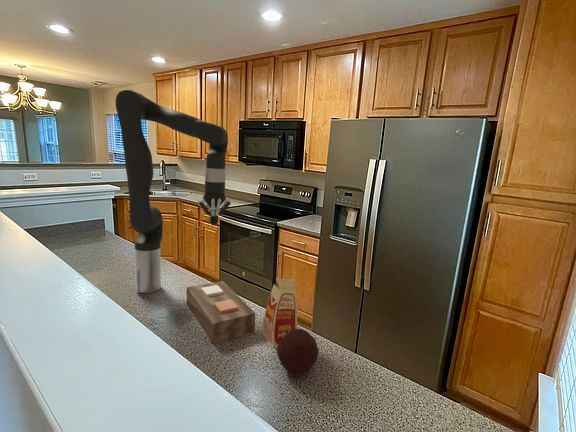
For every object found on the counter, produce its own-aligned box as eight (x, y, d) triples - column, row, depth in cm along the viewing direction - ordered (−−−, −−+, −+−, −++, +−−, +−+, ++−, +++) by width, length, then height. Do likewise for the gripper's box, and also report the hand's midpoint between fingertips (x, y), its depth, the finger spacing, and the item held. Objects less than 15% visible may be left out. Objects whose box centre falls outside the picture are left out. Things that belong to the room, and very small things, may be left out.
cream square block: (206, 305, 109) (206, 294, 108) (201, 297, 114) (201, 287, 113) (222, 301, 112) (223, 291, 112) (217, 294, 117) (217, 284, 116)
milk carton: (273, 348, 93) (277, 285, 89) (261, 332, 101) (264, 273, 97) (299, 341, 97) (304, 281, 94) (286, 326, 105) (290, 270, 102)
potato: (314, 354, 91) (317, 321, 89) (319, 387, 78) (323, 350, 76) (276, 352, 91) (278, 320, 89) (275, 385, 78) (277, 348, 76)
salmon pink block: (220, 322, 98) (220, 310, 98) (213, 314, 103) (213, 302, 103) (237, 318, 102) (238, 306, 101) (230, 310, 107) (230, 299, 106)
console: (212, 343, 93) (212, 323, 92) (186, 303, 116) (186, 287, 115) (254, 331, 101) (255, 313, 100) (222, 296, 124) (222, 281, 123)
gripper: (228, 179, 125) (226, 222, 128) (194, 178, 118) (193, 223, 121) (235, 181, 118) (233, 226, 122) (200, 181, 111) (199, 228, 115)
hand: (213, 225), depth 121 cm, fingers closed
